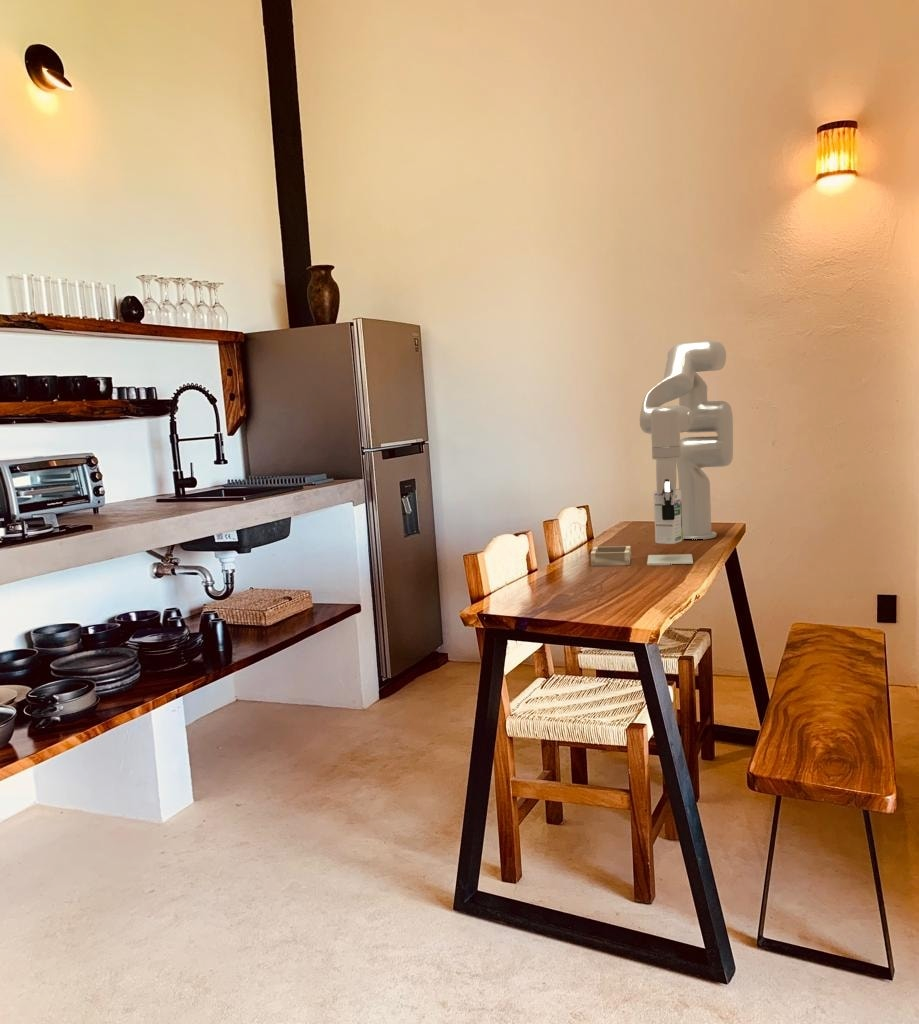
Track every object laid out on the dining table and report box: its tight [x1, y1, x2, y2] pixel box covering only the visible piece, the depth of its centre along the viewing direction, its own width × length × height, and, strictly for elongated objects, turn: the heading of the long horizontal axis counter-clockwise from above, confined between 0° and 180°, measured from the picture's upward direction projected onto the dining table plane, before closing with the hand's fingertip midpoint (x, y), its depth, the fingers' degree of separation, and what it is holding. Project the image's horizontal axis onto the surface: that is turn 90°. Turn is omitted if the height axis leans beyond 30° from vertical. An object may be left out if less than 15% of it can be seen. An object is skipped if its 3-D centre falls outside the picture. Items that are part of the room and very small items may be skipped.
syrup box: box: [653, 488, 684, 545], centre depth 234 cm, size 6×6×14 cm
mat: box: [646, 553, 694, 566], centre depth 236 cm, size 12×12×1 cm
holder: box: [590, 545, 632, 567], centre depth 239 cm, size 10×10×4 cm
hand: (668, 517), depth 234 cm, fingers closed on syrup box, 7 cm apart
